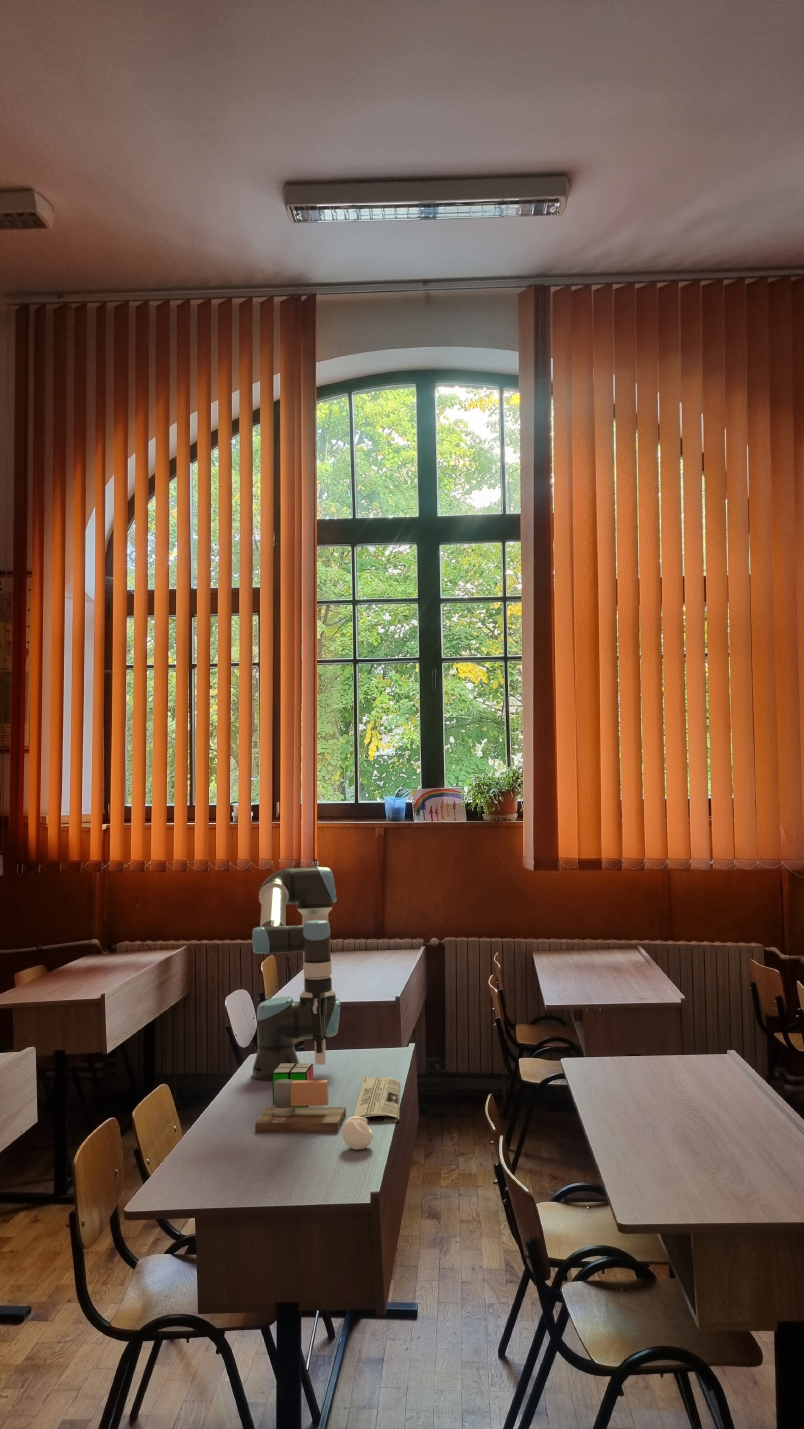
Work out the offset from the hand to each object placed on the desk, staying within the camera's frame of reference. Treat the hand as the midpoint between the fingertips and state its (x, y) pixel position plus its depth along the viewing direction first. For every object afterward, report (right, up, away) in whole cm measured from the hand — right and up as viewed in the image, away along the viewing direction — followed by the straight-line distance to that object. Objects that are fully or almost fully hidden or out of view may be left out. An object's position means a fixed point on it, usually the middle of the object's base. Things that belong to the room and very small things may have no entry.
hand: (320, 1063), depth 268 cm
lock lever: (-5, -8, -7) cm, 12 cm away
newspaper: (+16, -14, +7) cm, 23 cm away
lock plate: (-4, -13, -9) cm, 16 cm away
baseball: (+12, -11, -29) cm, 33 cm away
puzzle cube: (-8, -15, +10) cm, 20 cm away
